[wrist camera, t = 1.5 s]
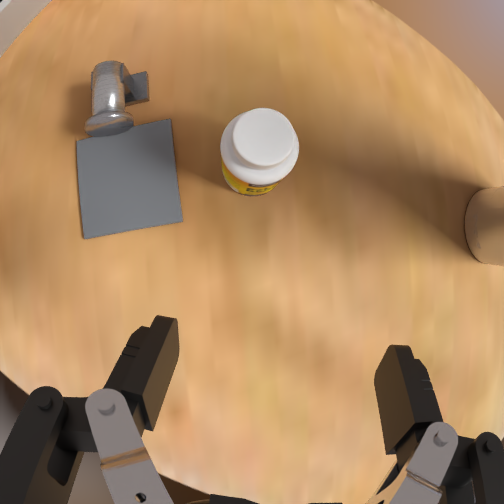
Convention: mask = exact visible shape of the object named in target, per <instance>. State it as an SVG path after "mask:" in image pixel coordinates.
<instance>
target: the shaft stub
mask: <svg viewBox="0 0 504 504" xmlns="http://www.w3.org/2000/svg"><path fill="white" fill-rule="evenodd" d="M91 90H92V116H91V117H90V118H88V119H87V120H86V121H85V132H86V133H87V134H88V135H91V136H97V137H105V136H113V135H118V134H121V133H124V132H126V131H128V130H130V129H131V128H132V127H133V125H134V123H133V116H132V115H131V114H129V113H127V112H125V106H130V105H134V104H138V103H142V102H147V101H149V85H148V74H147V72H146V71H145V72H141V73H137V74H133V75H130V73H129V71H128V70H127V68H126V67H125V65H124V63H120V62H118V61H105V62H102V63H99V64H98V65H96V66H95V67H94V69H93V72H92V74H91Z"/></svg>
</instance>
